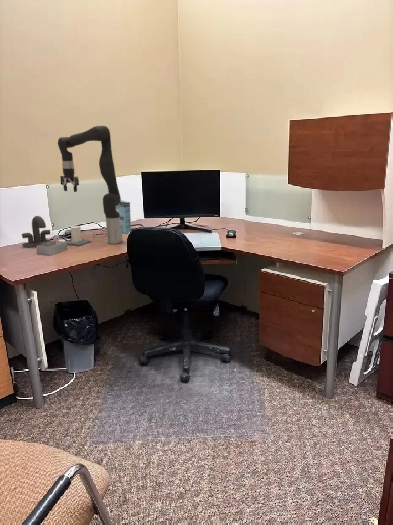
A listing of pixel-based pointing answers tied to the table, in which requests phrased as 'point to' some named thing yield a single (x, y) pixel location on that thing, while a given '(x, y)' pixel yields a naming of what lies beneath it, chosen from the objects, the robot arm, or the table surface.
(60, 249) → the grey box
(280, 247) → the table surface
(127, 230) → the gum box
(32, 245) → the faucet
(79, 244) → the mat
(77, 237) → the block
